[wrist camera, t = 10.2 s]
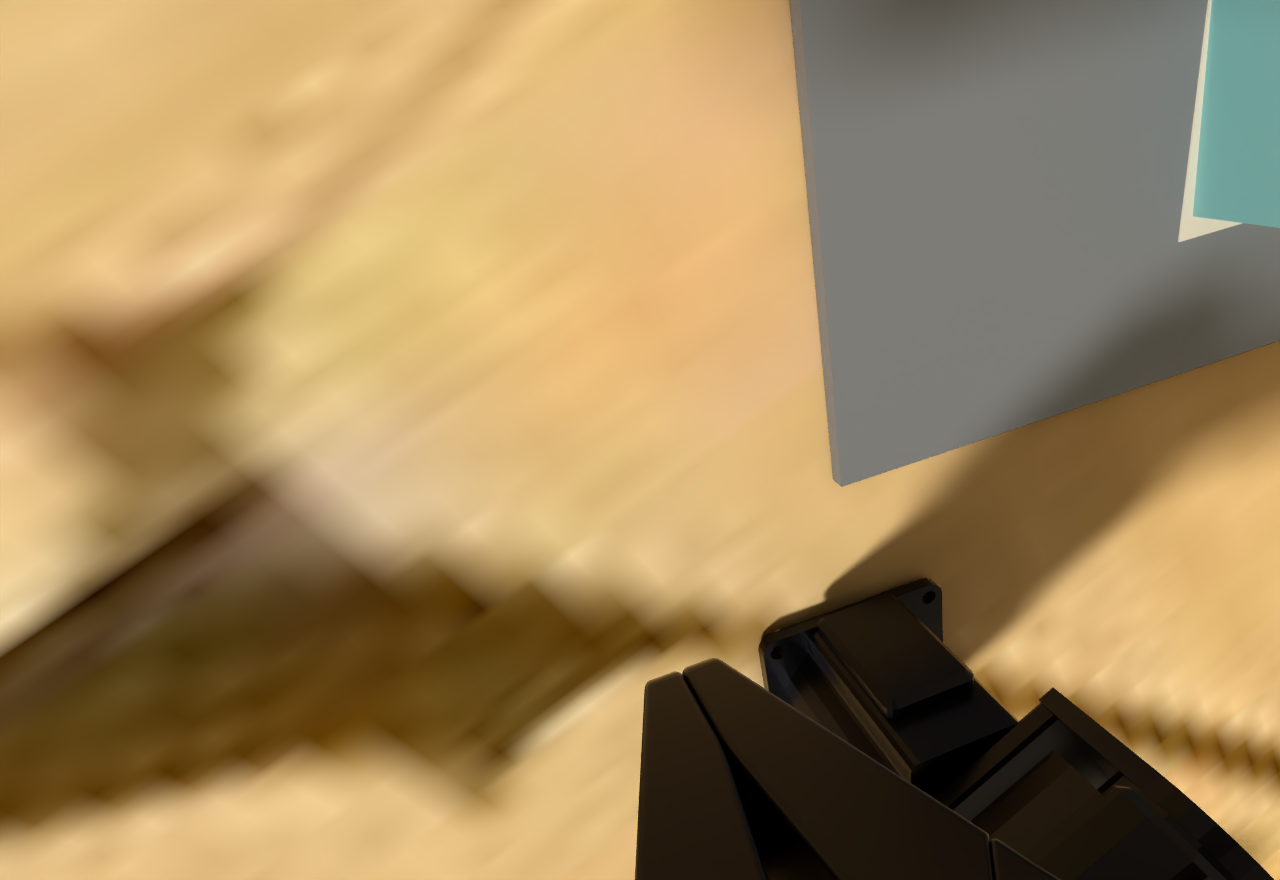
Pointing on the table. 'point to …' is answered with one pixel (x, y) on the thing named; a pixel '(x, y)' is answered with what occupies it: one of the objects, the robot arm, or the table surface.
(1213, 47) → the t block
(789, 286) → the table surface
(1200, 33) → the mat
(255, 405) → the table surface
